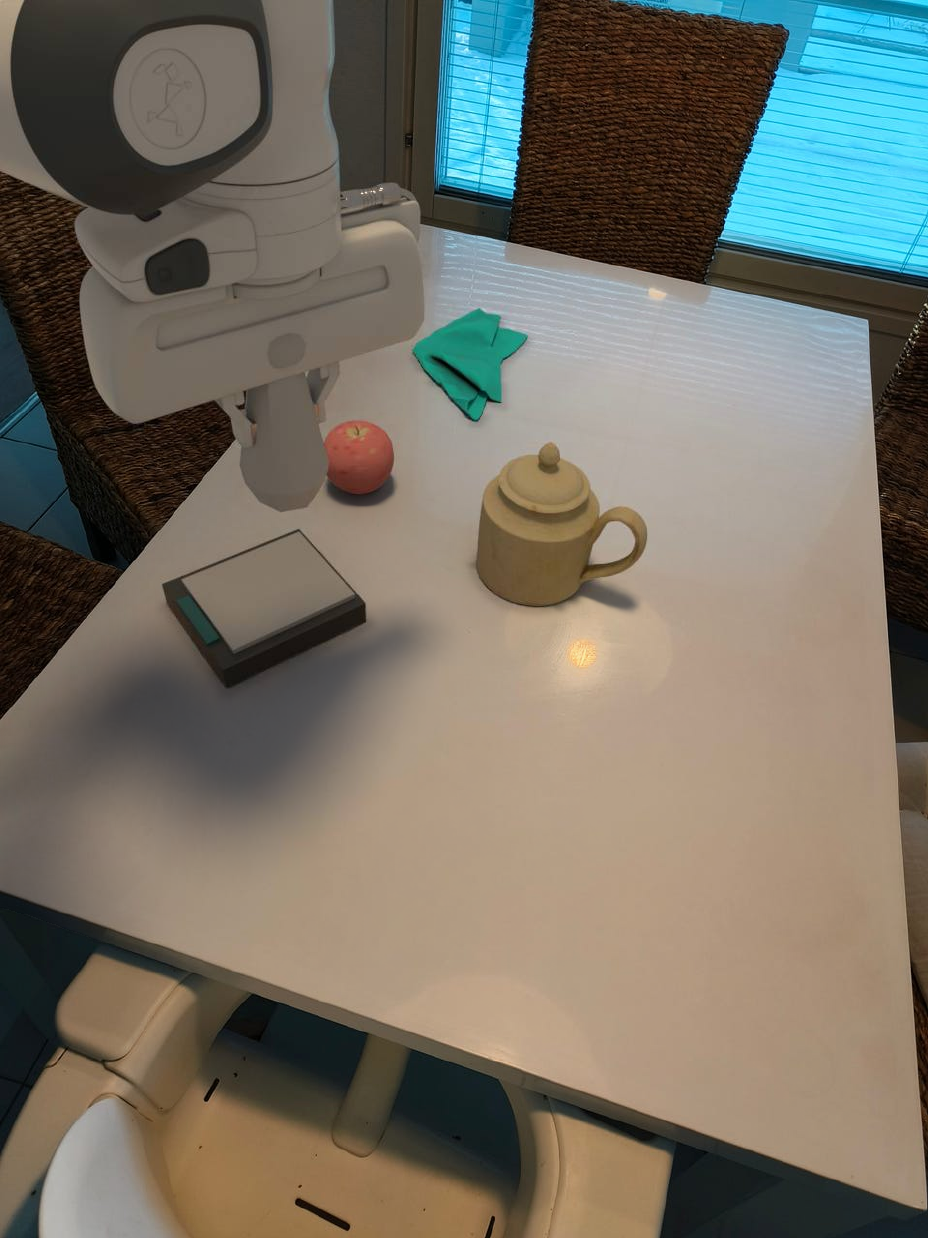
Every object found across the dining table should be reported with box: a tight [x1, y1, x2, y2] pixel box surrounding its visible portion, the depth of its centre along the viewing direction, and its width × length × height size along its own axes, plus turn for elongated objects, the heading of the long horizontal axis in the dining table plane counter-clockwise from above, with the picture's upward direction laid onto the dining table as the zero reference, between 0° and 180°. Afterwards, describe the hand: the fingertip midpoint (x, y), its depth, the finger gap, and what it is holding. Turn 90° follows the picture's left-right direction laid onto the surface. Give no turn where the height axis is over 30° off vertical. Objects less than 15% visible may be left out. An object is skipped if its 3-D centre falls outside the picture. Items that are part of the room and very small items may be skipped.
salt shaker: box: [239, 333, 329, 513], centre depth 54 cm, size 6×6×13 cm
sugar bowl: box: [475, 441, 648, 607], centre depth 79 cm, size 15×11×15 cm
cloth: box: [412, 307, 529, 421], centre depth 110 cm, size 26×14×2 cm, turn 164°
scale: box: [161, 528, 367, 689], centre depth 77 cm, size 14×12×3 cm
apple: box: [323, 419, 395, 495], centre depth 89 cm, size 7×7×8 cm
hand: (280, 430), depth 55 cm, fingers closed on salt shaker, 3 cm apart
